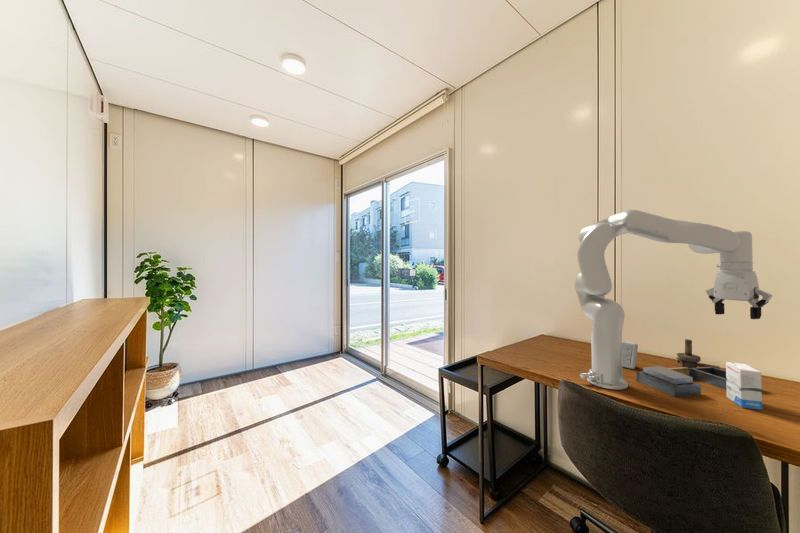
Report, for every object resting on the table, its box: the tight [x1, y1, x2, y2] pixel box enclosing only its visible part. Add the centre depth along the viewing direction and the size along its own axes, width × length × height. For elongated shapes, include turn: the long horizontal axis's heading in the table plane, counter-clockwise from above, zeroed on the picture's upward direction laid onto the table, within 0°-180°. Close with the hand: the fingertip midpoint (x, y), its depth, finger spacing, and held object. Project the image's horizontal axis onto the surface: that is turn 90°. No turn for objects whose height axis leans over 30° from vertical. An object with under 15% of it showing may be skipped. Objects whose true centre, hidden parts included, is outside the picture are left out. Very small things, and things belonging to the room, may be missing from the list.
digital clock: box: [622, 340, 638, 370], centre depth 132 cm, size 16×9×11 cm, turn 24°
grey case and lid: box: [636, 365, 727, 398], centre depth 108 cm, size 33×14×6 cm, turn 97°
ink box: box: [725, 361, 764, 411], centre depth 95 cm, size 9×5×12 cm, turn 154°
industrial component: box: [675, 338, 702, 368], centre depth 125 cm, size 9×7×12 cm
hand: (736, 316), depth 104 cm, fingers open, 9 cm apart
